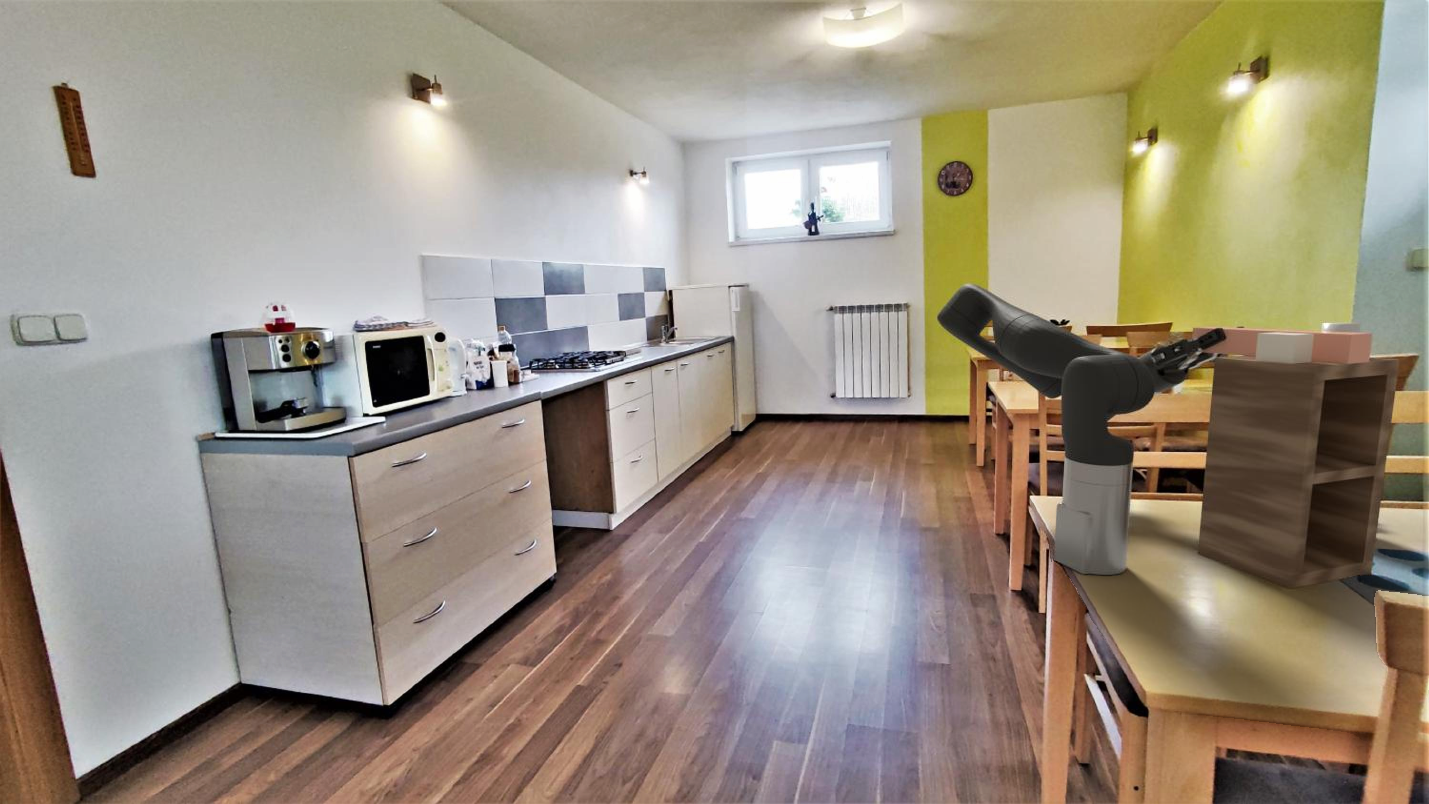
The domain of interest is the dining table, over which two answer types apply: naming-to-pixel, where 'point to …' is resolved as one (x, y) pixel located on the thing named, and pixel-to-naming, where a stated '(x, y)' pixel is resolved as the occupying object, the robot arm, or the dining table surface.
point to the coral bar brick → (1324, 343)
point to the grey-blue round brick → (1341, 327)
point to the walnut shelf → (1296, 467)
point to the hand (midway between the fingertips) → (1233, 332)
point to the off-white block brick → (1284, 347)
